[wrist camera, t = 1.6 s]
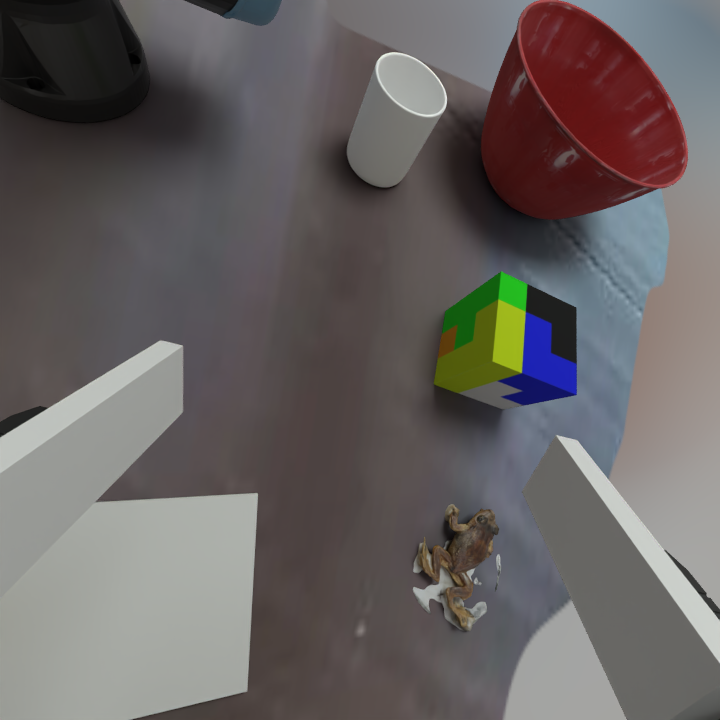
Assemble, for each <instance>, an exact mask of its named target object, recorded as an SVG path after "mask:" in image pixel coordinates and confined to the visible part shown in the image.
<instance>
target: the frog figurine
mask: <svg viewBox="0 0 720 720" xmlns="http://www.w3.org/2000/svg"><path fill="white" fill-rule="evenodd" d="M458 516H459V509H457V508H456V507H455V506H454V505H453V504H451V505H449V506H448V507H447V509H446V512H445V519H446V521H447V522H448V523H449V524H450V527H451V529H452V530H454V531H456V534H455V536H454V538H453V540H450V541H446V543H445V547H444V548H442V547H440V546H439V545H436V546H434V547H433V553H432V554H430V553H429V550H428V548H427V546H426V544H425V537H424V543H420V544H419V550H418V555H417V557H416V559H415V561H414V570H413V571H414V572H415V573H419V572H421V570H422V569H423V570H424V571H425V572H426V573H427V574H428V575H429V576H430V577H432V578H433V579H434V580H435V581H436V582H439V584H438V585H430V586H428V587H427V588H426V589H425V590H421V589H418V588H416V587H414V588H413V592H414V594H415V596H416V598H417V600H418V603H420V604H421V606H422V607H423V608H424V609H425V610H426V611H427V612H428V613H430V609H429V599H431V598H433V599H435V600H436V601H438V602H441V603H442V604H443V607H444V615H445V618H446V620H448V621H449V622H450V623H452V624H453V625H455V626H456V627H457V628H459V629H460V630H463V631H470V630H471V628H472V626H473V624H474V623H475V622H476V621H477V620H478V619H479V618H480V617H481V616H482V615H484V614H485V613H486V612H487V610H486V608H487V607H486V603H485V602H479V603H477V604H476V605H475V606H474V608H473V609H468V608H466V607H464V603H463V601H462V600H466V599H467V598H469V597H470V596H471V593H472V591H473V583H472V580H471V575H472V574H473V572H474V569H475V567H477V566H478V565H479V564H480V563H481V562H483V561H484V560H485V558H489V556H490V555H491V553H492V552H493V546H492V545H493V541H492V539H493V536H494V534H495V535H497V534H498V531H499V528H498V526H497V524H496V523H495V514H494V512H493V511H492V510H490V509H489V510H483V509H480V511H479V512H478V513H476V514H475V516H474V517H473V518H472V519H471V520H470V521H469V523H466V524H458V523H457V520H458V519H457V517H458ZM496 560H497V568H498V576H497V583H496V588H495V591H496V590H497V586H498V580H499V574H500V571H501V565H500V555H499V554H498V555H497V559H496ZM439 580H440V581H439ZM477 580H478V579H477V578H475V581H474V583H475V584H479V585H481V583H482V582H480V581H477ZM430 614H431V613H430Z"/></svg>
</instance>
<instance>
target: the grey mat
mask: <svg viewBox="0 0 720 720" xmlns="http://www.w3.org/2000/svg"><path fill="white" fill-rule="evenodd" d="M257 500H258V493H248V494H230V495H213V496H195V497H178V498H160V499H142V500H125V501H107V502H94V503H93V505H92V506H91V507H90V508H89V509H88V510H87V511H86V512H85V513H84V514H83V515H82V516H81V517H80V518H79V519H78V520H77V521H76V522H75V523H74V524H73V525H72V526H71V527H70V528H69V529H68V530H67V531H66V532H65V533H64V534H63V535H62V536H61V537H60V538H59V539H58V540H57V541H56V542H55V543H54V544H53V545H52V546H51V547H50V548H49V549H48V550H47V551H46V552H45V554H44V555H43V556H42V557H41V558H40V559H39V560H38V561H37V562H36V563H35V564H34V565H33V566H32V567H31V568H30V569H29V570H28V571H27V572H26V573H25V574H24V575H23V576H22V577H21V578H20V579H19V580H18V581H17V582H16V583H15V584H14V585H13V586H12V587H11V588H10V589H9V590H8V591H7V592H6V593H5V594H4V595H3V596H2V597H1V598H0V720H131V719H135V718H139V717H143V716H147V715H152V714H156V713H160V712H164V711H168V710H172V709H176V708H181V707H185V706H189V705H193V704H197V703H201V702H205V701H210V700H214V699H218V698H222V697H226V696H230V695H234V694H239V693H243V692H247V685H248V666H249V648H250V629H251V611H252V593H253V574H254V556H255V537H256V519H257Z"/></svg>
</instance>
